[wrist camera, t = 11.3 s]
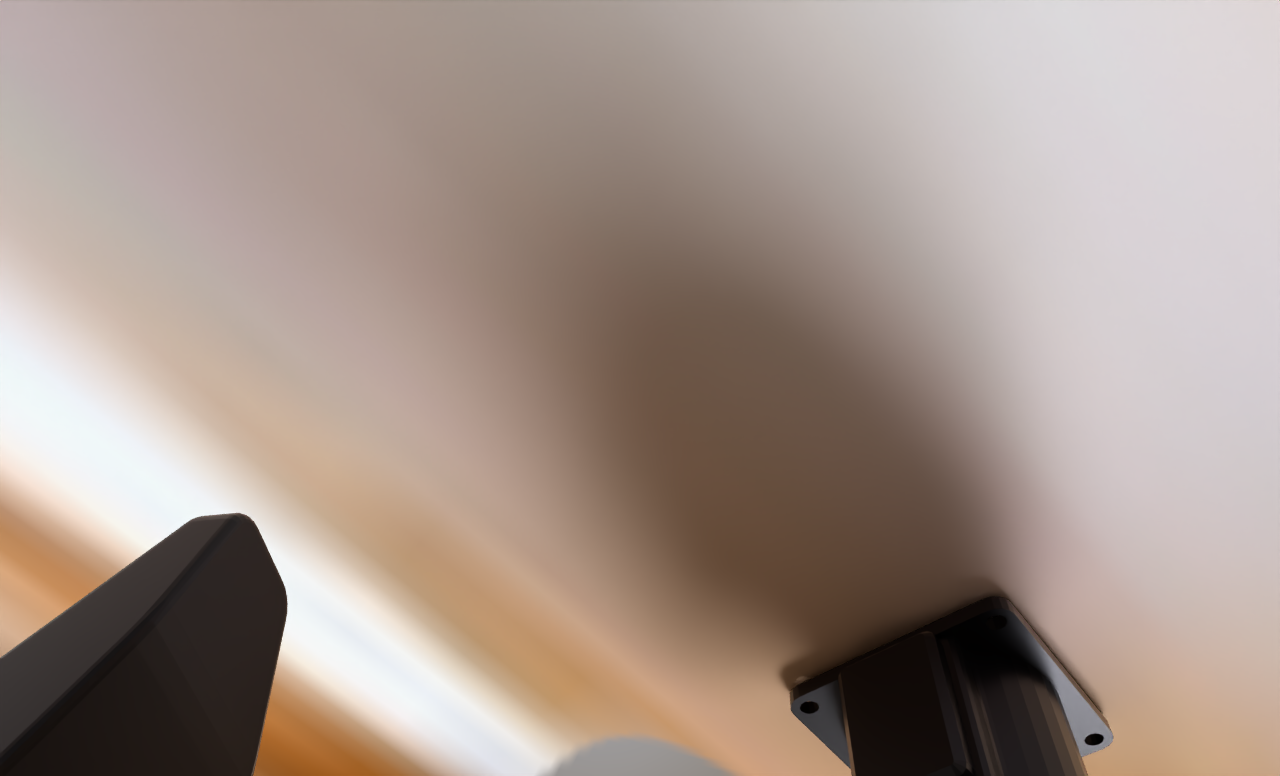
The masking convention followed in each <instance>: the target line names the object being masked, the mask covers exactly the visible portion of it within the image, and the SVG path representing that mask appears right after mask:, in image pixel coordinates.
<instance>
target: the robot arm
mask: <svg viewBox="0 0 1280 776" xmlns="http://www.w3.org/2000/svg"><path fill="white" fill-rule="evenodd" d="M996 615H999V616H998V617H995V618H990V617H992V616H996ZM286 616H287V595H286V590H285V587H284V584H283V581H282V579H281V577H280V575H279V573H278V570H277V568H276V566H275V564H274V562H273V560H272V557H271V555H270V553H269V551H268V549H267V547H266V545H265V542H264V540H263V538H262V536H261V534H260V532H259V530H258V528H257V526H256V524H255V523H254V521H253V520H252V519H251V518H250V517H248V516H247V515H244V514H241V513H232V514H220V515H209V516H201V517H197V518H194V519H192V520H190V521H189V522H187V523H186V524H184V525H183V526H182V527H180V528H179V529H178V530H176V531H175V532H173V533H172V534H171V535H169V536H168V537H166V538H165V539H164V540H162V541H161V542H160V543H158V544H157V545H155V546H154V547H153V548H151V549H150V550H149V551H147V552H146V553H144V554H143V555H142V556H140V557H139V558H137V559H136V560H135V561H133V562H132V563H131V564H129V565H128V566H126V567H125V568H124V569H122V570H121V571H120V572H118V573H117V574H115V575H114V576H113V577H111V578H110V579H108V580H107V581H106V582H104V583H103V584H102V585H100V586H99V587H97V588H96V589H95V590H93V591H92V592H91V593H89V594H88V595H86V596H85V597H84V598H82V599H81V600H79V601H78V602H77V603H75V604H74V605H73V606H71V607H70V608H68V609H67V610H66V611H64V612H63V613H62V614H60V615H59V616H57V617H56V618H55V619H53V620H52V621H50V622H49V623H48V624H46V625H45V626H44V627H42V628H41V629H39V630H38V631H37V632H35V633H34V634H33V635H31V636H30V637H28V638H27V639H26V640H24V641H23V642H21V643H20V644H19V645H17V646H16V647H15V648H13V649H12V650H10V651H9V652H8V653H6V654H5V655H4V656H2V657H1V658H0V776H253V773H254V769H255V765H256V761H257V756H258V751H259V747H260V742H261V737H262V732H263V727H264V723H265V718H266V713H267V708H268V703H269V699H270V694H271V689H272V684H273V679H274V675H275V670H276V665H277V660H278V655H279V651H280V646H281V641H282V636H283V631H284V627H285V622H286ZM807 701H810V702H807ZM790 705H791V711H792V713H793V714H794V715H795V716H796V717H797V718H798V719H799V720H800V721H801V722H802V723H803V724H804V725H805V726H806V727H807V728H808V729H809V730H810V731H811V732H813V733H814V734H815V735H816V736H817V737H818V738H819V739H820V740H821V741H822V742H823V743H824V744H825V745H826V746H827V747H828V748H829V749H830V750H831V751H832V752H833V753H834V754H835V755H837V756H838V757H839V758H840V759H841V760H842V761H843V762H844V763H845V764H846V765H847V766H848V767H849V768H850V769H851V773H852V776H1088V774H1087V771H1086V768H1085V766H1084V763H1083V760H1082V757H1083V756H1086V755H1089V754H1091V753H1094V752H1096V751H1099V750H1102V749H1104V748H1105V747H1107V746H1109V745H1110V744H1111V743H1112V741H1113V734H1112V732H1111V729H1110V727H1109V724H1108V722H1107V720H1106V719H1105V717H1104V716H1103V715H1102V714H1101V712H1100V711H1099V710H1098V709H1097V708H1096V706H1095V705H1094V704H1093V703H1092V701H1091V700H1090V699H1089V698H1088V697H1087V695H1086V694H1085V693H1084V692H1083V690H1082V689H1081V688H1080V687H1079V685H1078V684H1077V683H1076V682H1075V681H1074V679H1073V678H1072V677H1071V676H1070V674H1069V673H1068V672H1067V671H1066V670H1065V668H1064V667H1063V666H1062V665H1061V663H1060V662H1059V661H1058V660H1057V658H1056V657H1055V656H1054V655H1053V654H1052V652H1051V651H1050V650H1049V649H1048V647H1047V646H1046V645H1045V644H1044V643H1043V641H1042V640H1041V639H1040V638H1039V636H1038V635H1037V634H1036V633H1035V632H1034V630H1033V629H1032V628H1031V627H1030V625H1029V624H1028V623H1027V622H1026V620H1025V619H1024V618H1023V617H1022V616H1021V614H1020V613H1019V612H1018V611H1017V609H1016V608H1015V607H1014V606H1013V605H1012V603H1011V602H1010V601H1008V600H1007V599H1005V598H1001V597H989V598H986V599H983V600H980V601H978V602H976V603H974V604H972V605H970V606H967V607H965V608H963V609H961V610H959V611H957V612H955V613H952V614H950V615H948V616H946V617H944V618H942V619H940V620H937V621H935V622H933V623H931V624H929V625H927V626H924V627H922V628H920V629H918V630H916V631H914V632H912V633H909V634H907V635H905V636H903V637H901V638H899V639H897V640H894V641H892V642H890V643H888V644H886V645H884V646H881V647H879V648H877V649H875V650H873V651H871V652H869V653H866V654H864V655H862V656H860V657H858V658H856V659H854V660H851V661H849V662H847V663H845V664H843V665H841V666H838V667H836V668H834V669H832V670H830V671H828V672H826V673H823V674H821V675H819V676H817V677H815V678H813V679H810V680H808V681H806V682H804V683H802V684H800V685H798V686H796V687H795V688H793V689H792V691H791V692H790Z"/></svg>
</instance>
